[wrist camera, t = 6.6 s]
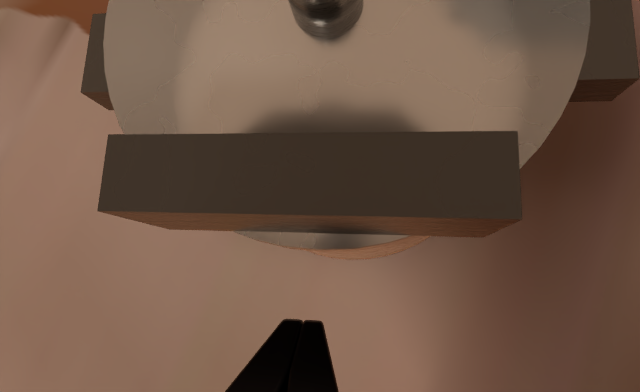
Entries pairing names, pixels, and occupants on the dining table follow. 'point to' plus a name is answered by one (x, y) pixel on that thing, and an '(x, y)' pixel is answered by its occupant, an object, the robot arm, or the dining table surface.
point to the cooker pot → (592, 85)
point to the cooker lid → (333, 114)
